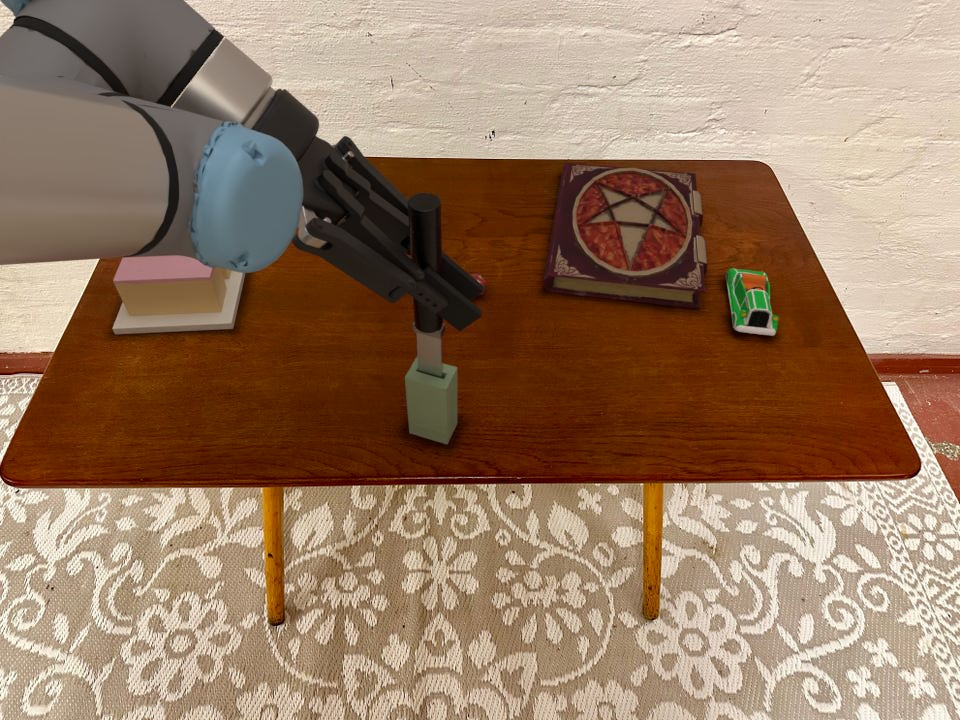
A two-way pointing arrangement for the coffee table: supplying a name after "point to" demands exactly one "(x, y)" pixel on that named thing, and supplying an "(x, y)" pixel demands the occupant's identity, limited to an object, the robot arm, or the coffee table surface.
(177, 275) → the cake
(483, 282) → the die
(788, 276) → the coffee table surface
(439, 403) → the knife stand
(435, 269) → the knife
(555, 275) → the book
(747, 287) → the toy car
